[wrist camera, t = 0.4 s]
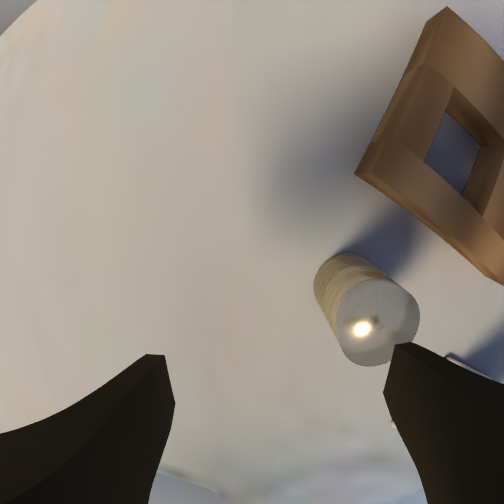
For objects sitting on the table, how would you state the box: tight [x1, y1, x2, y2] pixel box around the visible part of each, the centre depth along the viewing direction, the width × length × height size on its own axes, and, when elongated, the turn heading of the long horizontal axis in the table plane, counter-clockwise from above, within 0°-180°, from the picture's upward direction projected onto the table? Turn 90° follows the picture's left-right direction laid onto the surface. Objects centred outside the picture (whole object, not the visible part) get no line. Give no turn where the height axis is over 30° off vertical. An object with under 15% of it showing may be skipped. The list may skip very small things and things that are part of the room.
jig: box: [354, 7, 504, 286], centre depth 14 cm, size 14×14×3 cm
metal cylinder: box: [314, 253, 420, 366], centre depth 15 cm, size 4×4×6 cm
